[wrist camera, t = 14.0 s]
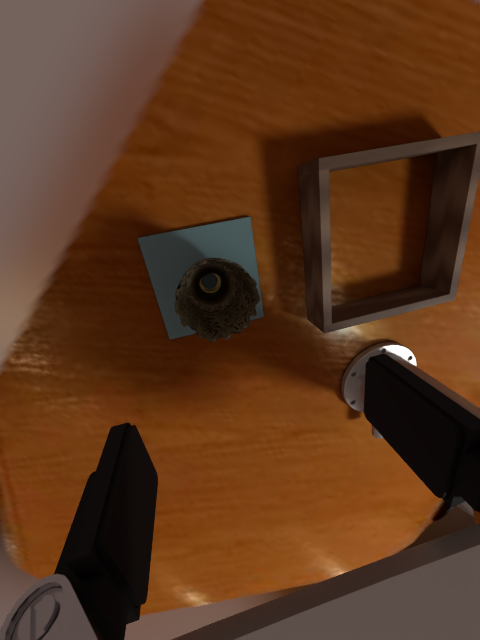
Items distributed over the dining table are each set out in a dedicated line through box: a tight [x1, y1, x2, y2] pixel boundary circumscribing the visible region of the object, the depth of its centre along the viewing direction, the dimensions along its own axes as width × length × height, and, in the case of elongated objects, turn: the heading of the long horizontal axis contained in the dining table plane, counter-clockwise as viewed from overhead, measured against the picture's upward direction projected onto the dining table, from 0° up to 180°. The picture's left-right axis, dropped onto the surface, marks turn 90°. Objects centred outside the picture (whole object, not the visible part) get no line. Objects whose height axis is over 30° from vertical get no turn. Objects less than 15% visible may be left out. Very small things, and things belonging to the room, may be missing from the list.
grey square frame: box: [298, 132, 480, 333], centre depth 30 cm, size 18×18×4 cm
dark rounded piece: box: [175, 258, 260, 342], centre depth 26 cm, size 8×7×8 cm
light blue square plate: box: [138, 217, 264, 340], centre depth 30 cm, size 12×12×1 cm
